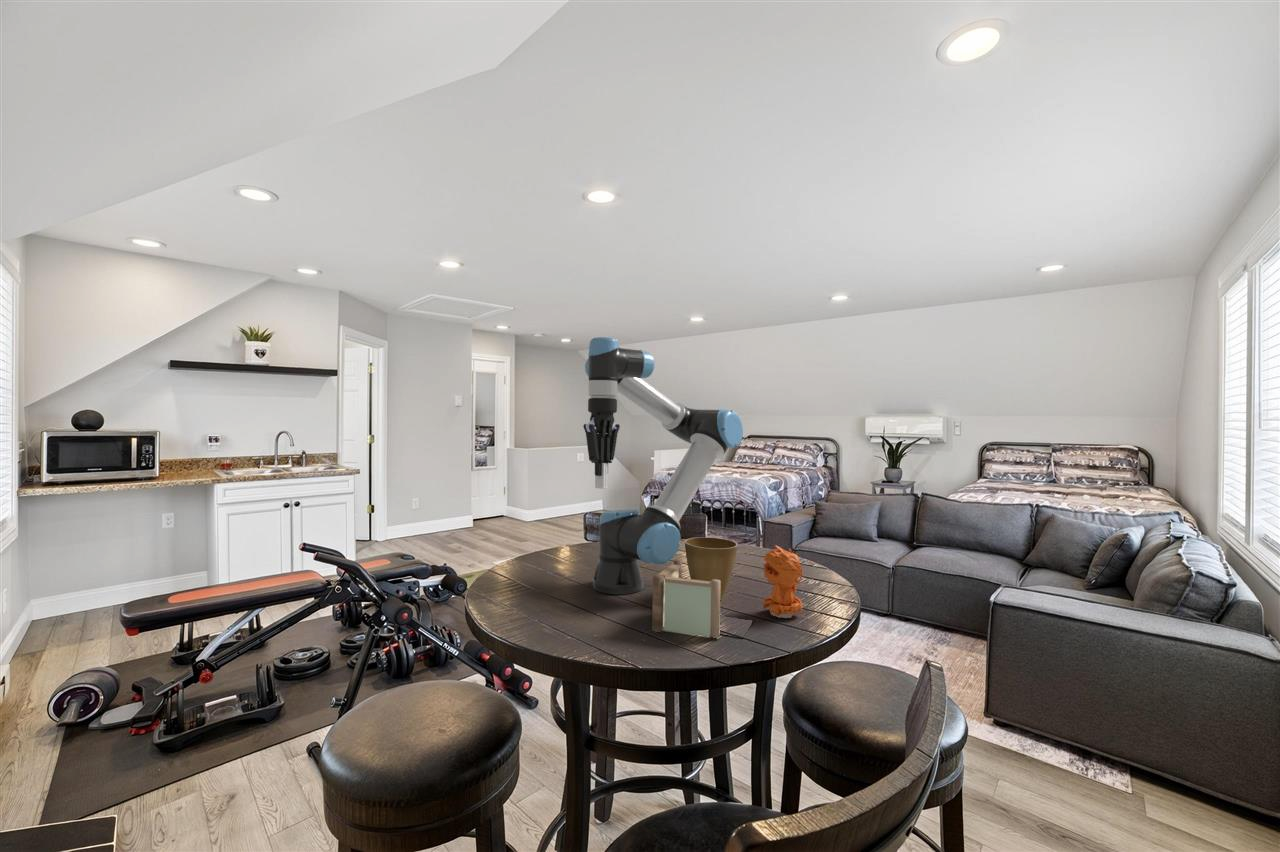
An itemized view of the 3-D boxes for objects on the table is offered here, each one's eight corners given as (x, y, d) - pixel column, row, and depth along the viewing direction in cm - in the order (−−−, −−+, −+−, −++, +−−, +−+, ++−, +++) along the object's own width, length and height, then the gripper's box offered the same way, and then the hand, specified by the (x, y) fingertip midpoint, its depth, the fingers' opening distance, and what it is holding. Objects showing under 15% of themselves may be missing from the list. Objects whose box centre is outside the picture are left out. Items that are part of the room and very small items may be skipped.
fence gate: (663, 631, 128) (664, 576, 128) (666, 627, 130) (667, 573, 130) (718, 639, 124) (719, 582, 124) (720, 635, 126) (721, 579, 126)
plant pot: (721, 611, 144) (722, 551, 143) (673, 599, 152) (674, 542, 152) (745, 596, 156) (746, 541, 156) (700, 586, 164) (700, 534, 164)
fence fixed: (673, 610, 144) (674, 559, 144) (683, 611, 143) (684, 560, 143) (650, 631, 129) (651, 575, 129) (660, 633, 128) (661, 576, 128)
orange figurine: (771, 604, 150) (772, 539, 149) (809, 613, 143) (811, 545, 143) (752, 615, 141) (753, 546, 141) (792, 625, 134) (793, 553, 134)
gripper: (606, 398, 149) (604, 484, 149) (575, 396, 137) (573, 489, 138) (628, 398, 144) (627, 486, 145) (598, 396, 133) (597, 492, 134)
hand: (601, 488), depth 141 cm, fingers closed
